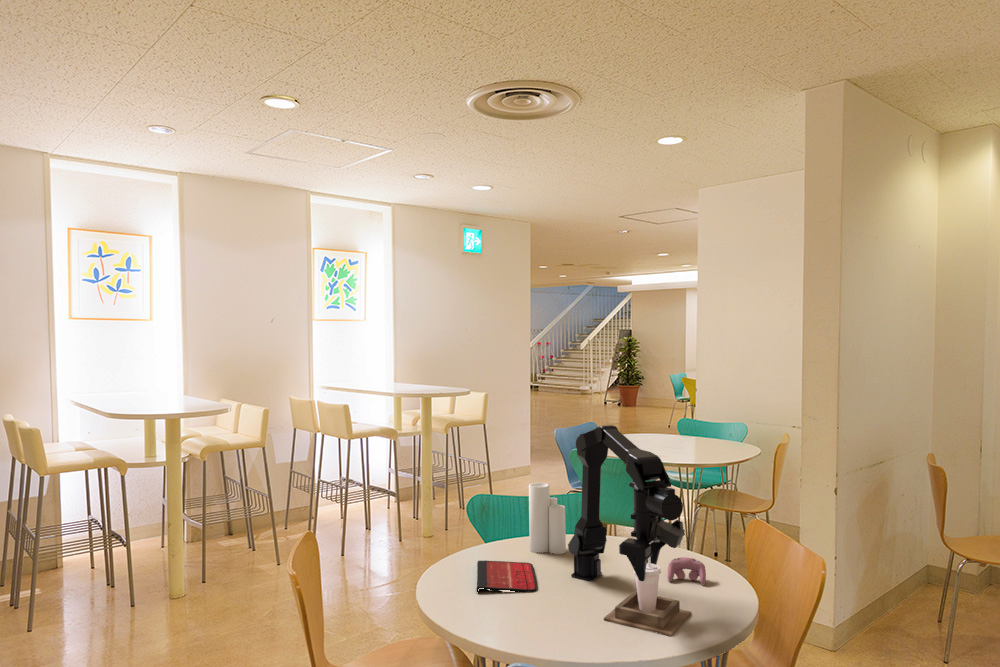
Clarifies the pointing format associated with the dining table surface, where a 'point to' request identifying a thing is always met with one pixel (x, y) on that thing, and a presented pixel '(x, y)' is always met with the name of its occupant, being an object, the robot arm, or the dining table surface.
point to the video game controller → (686, 563)
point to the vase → (545, 521)
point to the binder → (506, 576)
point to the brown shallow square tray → (649, 615)
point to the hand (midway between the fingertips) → (646, 576)
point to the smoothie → (648, 587)
